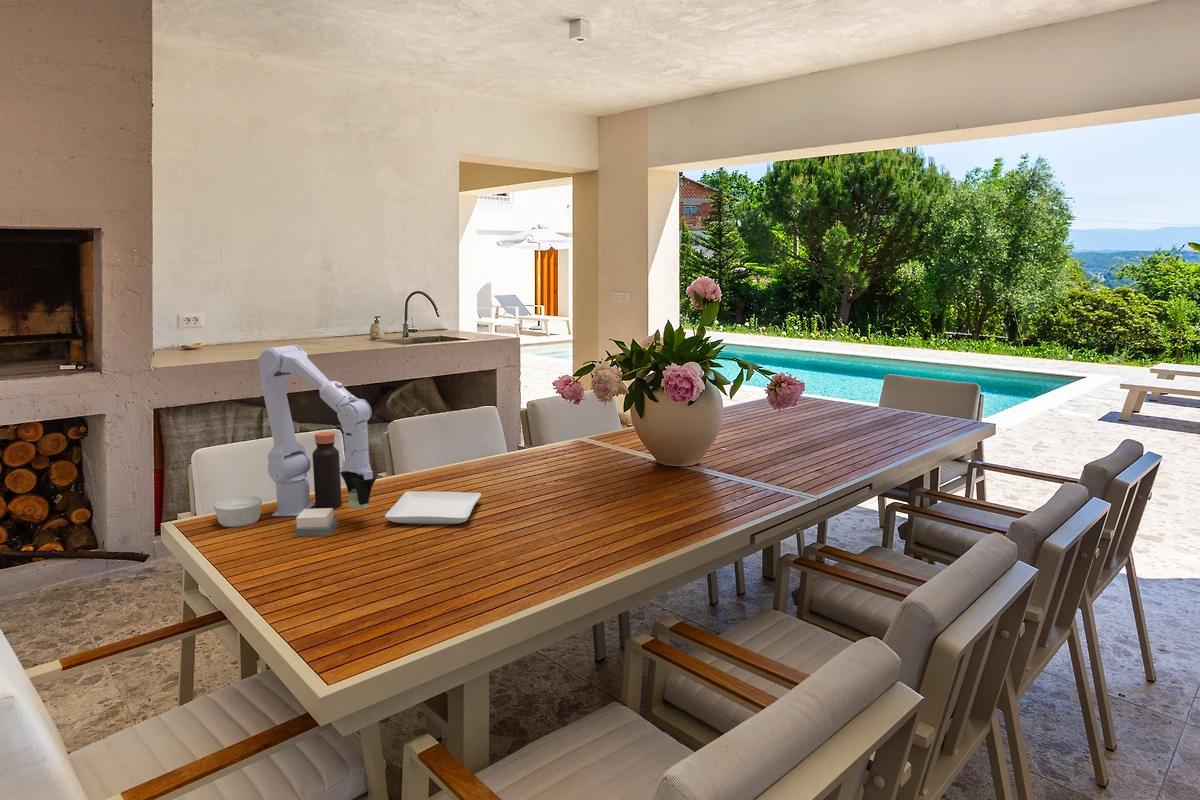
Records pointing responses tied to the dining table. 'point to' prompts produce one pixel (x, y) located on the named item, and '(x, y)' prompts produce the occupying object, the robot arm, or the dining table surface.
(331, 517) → the cream slab
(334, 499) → the bottle
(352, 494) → the sage cube
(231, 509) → the ramekin
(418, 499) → the salad plate
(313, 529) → the charcoal slab
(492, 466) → the dining table surface
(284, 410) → the robot arm
